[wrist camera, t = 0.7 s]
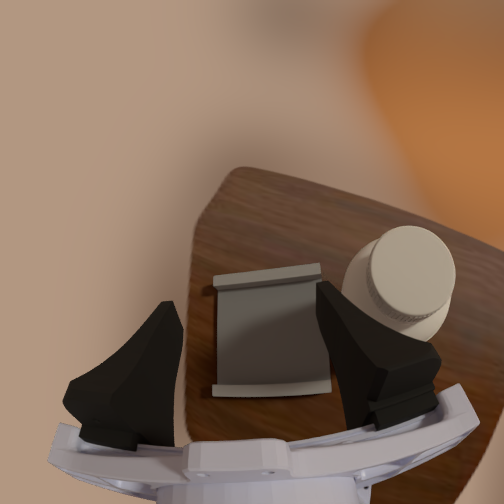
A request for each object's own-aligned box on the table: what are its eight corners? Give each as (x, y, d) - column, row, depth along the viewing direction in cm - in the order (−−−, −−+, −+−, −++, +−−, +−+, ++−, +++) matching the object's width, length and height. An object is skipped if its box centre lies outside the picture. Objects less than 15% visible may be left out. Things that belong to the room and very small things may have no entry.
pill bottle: (333, 359, 25) (342, 341, 12) (338, 284, 28) (344, 200, 15) (408, 359, 23) (481, 337, 10) (408, 285, 26) (462, 206, 13)
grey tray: (330, 390, 24) (331, 392, 22) (219, 395, 26) (212, 396, 25) (320, 270, 30) (319, 262, 28) (219, 282, 32) (213, 275, 30)
